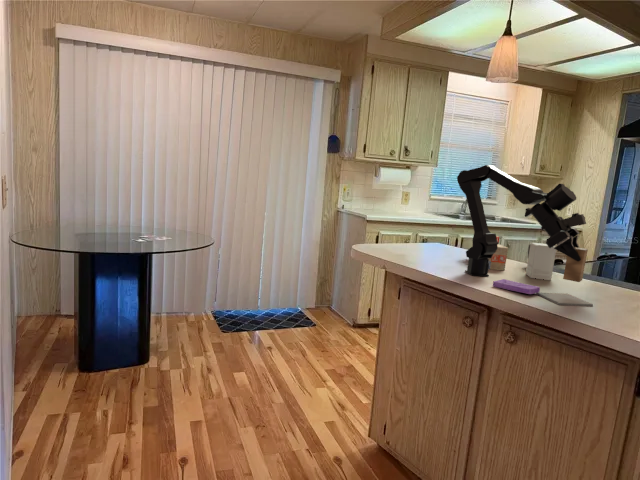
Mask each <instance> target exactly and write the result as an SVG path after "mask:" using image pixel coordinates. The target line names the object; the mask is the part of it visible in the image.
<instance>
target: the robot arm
mask: <svg viewBox="0 0 640 480" xmlns="http://www.w3.org/2000/svg"><path fill="white" fill-rule="evenodd" d="M456 179H457V180H456V181H457V184H458V186H459V189H460V190H461V191H462V193H463V194H464V195H465V198H466V203H467V205H468V207H467V208H468V209H469V214H470V219H471V223H472V227H473V236H472V240H471V241H472V244H473V245H472V246H471V247H470V248H468V249H467V250H466V251H465V254H466V258H467V259H468V260H467V261H468V263H467V267H466V270H464V273H467V274H469V275H471V276H476V277H489V270H490V269H489V263H488V261H489V259H487V258H491V257H492V256H493V254H494V253H495V252H496V250H497V248H498V247H497V244H499V243H500V242H499V243H498V242H497V238H496V236H497V234H496V233H495V232H494V233H493V232H491V231H490V230H489V226H488V222H487V219H486V214H485V210H484V206H483V201H482V198H481V195H480V192H481V188H482V183H483V182H484V181H486V180H488V179H489V180H491V181H493V182H494V183H496V184H498V185H499V186H500V187H503V188H504V189H506V190H507V191H509V192H511V194H512V196H514V198H515V199H516V200H517V201H519V202H520V203H521V204H523V205H529V206H530V205H532V207H527V208H525V212H524V217H525V218H527V217H530V216H532V217H533V218H534V219H535V220H536V222H537V223H538V224H539V225H540V226H541V227H540V229H541V230H542V231H544V232H545V233H546V234H547V235H548V236H549V237H548V238H547V239H546V242H545V244H547V245H548V247H549V248H552V247H554V246H555V248H554V249H556V251H558V252H560V253H561V254H563V255H565V256H566V257H567V256H569V257H571V258H572V259H574V260H576V261H580V260H581V258H580V256H579V254H578V253H577V251H576V249H575V248H574V247H578V248H580V246H579V243H578V239H579V237H580V236H579V234H580V232H579V230H578V229H577V228H575V227H576V226H583V225H586V224H587V222H586V217H585V215H584V214H583V213H582V214H580V213H579V212H575V213H571V216H569V217H567V218H563V217H562V216H559V214H557V213H556V212H555V211H556V210H557V211H559V212H561V211H562V210H563V209H565V208H566V207H568V206H569V205H571V204H572V203H574V202H575V201H576V200H577V196H576V194H575V193H574V191H573V190H571V188H569V187H567V186H566V185H565V184H564V183H558V184H557V185H556V186H555V187H554V188H552V189H551V190H550V191H549V192H544V191H543V190H542V189H541V188H540V187H537V186H534V185H531V184H529V183H528V184H527V183H523V182H521V181H519V180H518V179H516V178H514V177H513V176H511V175H509V174H507V173H506V172H505V171H502V170H500V169H499V168H497V167H496V166H495V165H491V164H484V165H482V166H480V167H476V168H472V169H469V170H467V169H464V170H461V171H460V172H459V173H458V175H457V177H456ZM541 202H542V203H541Z"/></svg>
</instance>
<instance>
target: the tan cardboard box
mask: <svg viewBox="0 0 640 480" xmlns="http://www.w3.org/2000/svg"><path fill="white" fill-rule="evenodd" d="M496 238H497V242H498V243H500V236H498V235H496ZM472 246H473V243H472ZM497 247H498V248H497V250H496V252H495V253H494V254H493V256H492V257H491V258H487V259H489V261H488V263H489V269H488V270H493V271H494V270H495V271H499V270H500V271H505V269H506V263H507V258H508V253H509V247H508V246H507V247H506V246H505V245H502V244H497Z"/></svg>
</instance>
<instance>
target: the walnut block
mask: <svg viewBox="0 0 640 480" xmlns="http://www.w3.org/2000/svg"><path fill="white" fill-rule="evenodd" d="M574 248H575V249H576V251H577V253H578V254H579V256H580V258H581V260H580V261H576V260H574V259H572V258H571V257H569V256H567V255H566V261H565V267H564V272H563V277H562V280H566V281H571V282H576V283H581V282H582V281H583V279H584V278H583V277H584V272H585V266H586V261H587V255H588V250H589V248H584V247H579V248H578V247H574Z"/></svg>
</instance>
